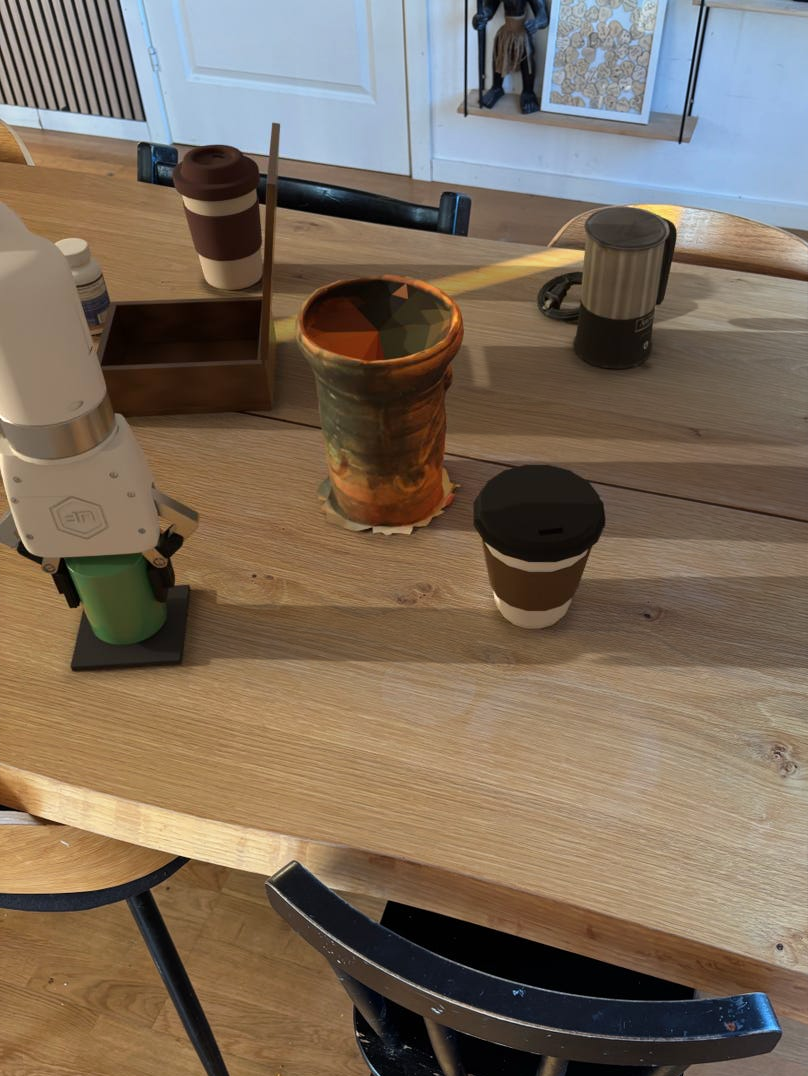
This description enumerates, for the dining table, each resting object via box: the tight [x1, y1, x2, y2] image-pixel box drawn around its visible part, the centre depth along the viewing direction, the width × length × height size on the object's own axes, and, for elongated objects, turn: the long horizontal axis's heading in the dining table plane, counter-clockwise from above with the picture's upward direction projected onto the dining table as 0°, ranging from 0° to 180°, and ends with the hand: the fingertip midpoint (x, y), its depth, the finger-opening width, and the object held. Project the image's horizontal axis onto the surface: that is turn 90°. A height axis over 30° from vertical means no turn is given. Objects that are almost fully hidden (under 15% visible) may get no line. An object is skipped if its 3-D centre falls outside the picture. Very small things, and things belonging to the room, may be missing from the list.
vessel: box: [294, 274, 465, 536], centre depth 93 cm, size 14×14×20 cm
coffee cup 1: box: [171, 144, 264, 291], centre depth 123 cm, size 10×10×15 cm
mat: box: [70, 584, 191, 672], centre depth 88 cm, size 9×9×1 cm
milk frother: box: [536, 206, 678, 370], centre depth 116 cm, size 14×16×15 cm
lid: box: [260, 122, 281, 360], centre depth 103 cm, size 18×14×1 cm
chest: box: [96, 295, 278, 418], centre depth 111 cm, size 18×14×6 cm
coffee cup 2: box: [472, 464, 607, 630], centre depth 87 cm, size 11×11×12 cm
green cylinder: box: [64, 552, 167, 645], centre depth 84 cm, size 6×6×8 cm
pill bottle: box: [54, 237, 112, 336], centre depth 117 cm, size 5×5×10 cm
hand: (120, 592), depth 85 cm, fingers closed on green cylinder, 6 cm apart
